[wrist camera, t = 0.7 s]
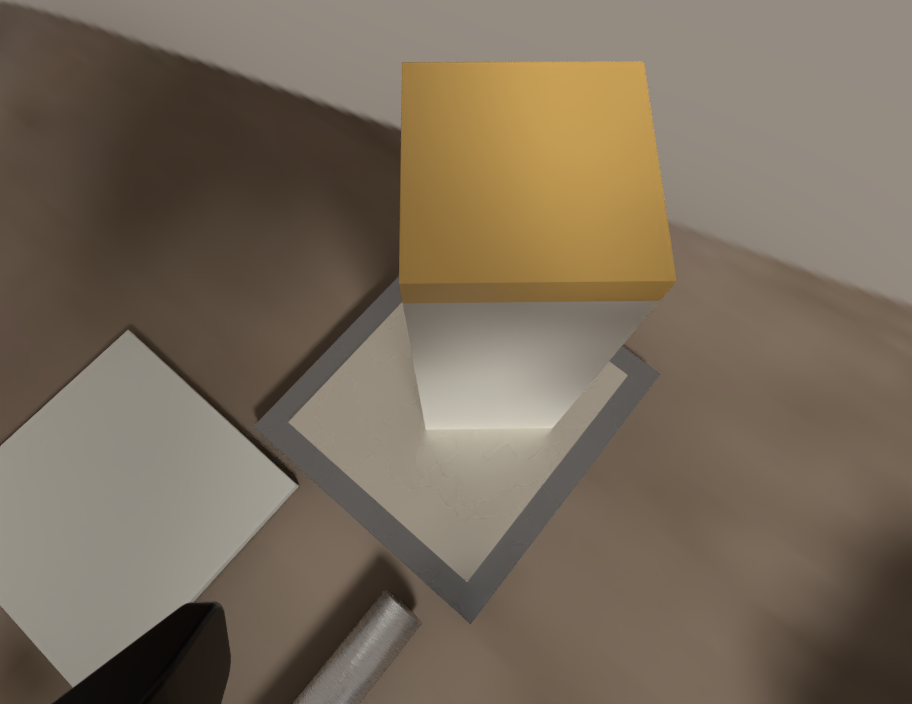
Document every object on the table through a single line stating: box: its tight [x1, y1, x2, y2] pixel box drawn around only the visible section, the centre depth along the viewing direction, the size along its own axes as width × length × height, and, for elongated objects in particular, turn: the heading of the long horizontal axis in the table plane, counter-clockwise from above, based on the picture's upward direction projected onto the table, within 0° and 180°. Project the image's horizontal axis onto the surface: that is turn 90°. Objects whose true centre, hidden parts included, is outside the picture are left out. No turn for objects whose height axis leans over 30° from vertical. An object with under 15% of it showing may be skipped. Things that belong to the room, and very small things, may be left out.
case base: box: [254, 276, 660, 624], centre depth 22 cm, size 11×10×1 cm
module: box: [399, 62, 677, 430], centre depth 16 cm, size 4×4×12 cm
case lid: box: [0, 330, 299, 687], centre depth 21 cm, size 9×9×1 cm
